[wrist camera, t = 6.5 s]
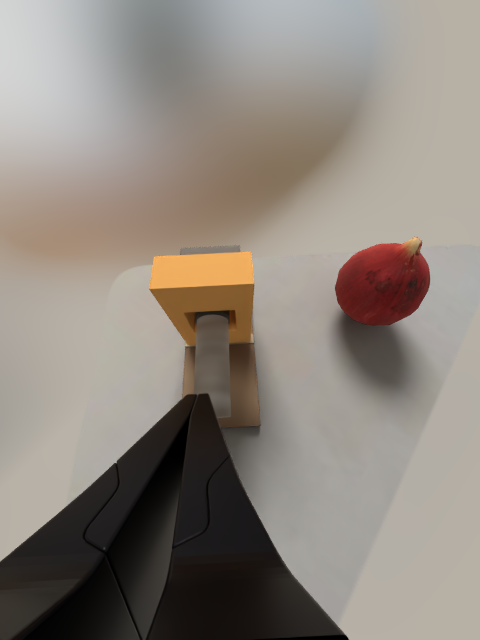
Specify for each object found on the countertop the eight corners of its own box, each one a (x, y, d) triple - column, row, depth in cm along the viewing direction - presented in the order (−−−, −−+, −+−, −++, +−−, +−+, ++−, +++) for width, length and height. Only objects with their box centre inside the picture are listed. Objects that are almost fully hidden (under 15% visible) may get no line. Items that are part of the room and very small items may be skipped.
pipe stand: (259, 425, 16) (268, 424, 10) (182, 429, 16) (146, 431, 10) (249, 296, 21) (251, 244, 15) (190, 299, 21) (168, 248, 15)
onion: (398, 338, 19) (495, 283, 11) (330, 341, 19) (384, 286, 11) (377, 281, 21) (446, 207, 14) (317, 284, 21) (355, 210, 14)
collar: (250, 342, 18) (254, 283, 11) (187, 345, 18) (149, 289, 10) (248, 319, 19) (251, 251, 11) (189, 322, 19) (154, 256, 11)
